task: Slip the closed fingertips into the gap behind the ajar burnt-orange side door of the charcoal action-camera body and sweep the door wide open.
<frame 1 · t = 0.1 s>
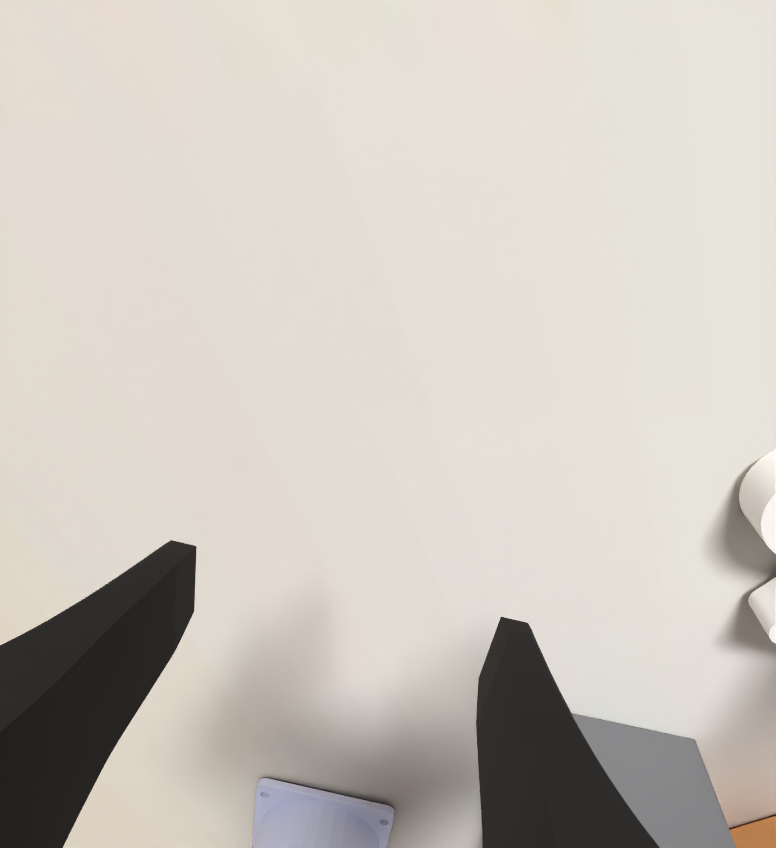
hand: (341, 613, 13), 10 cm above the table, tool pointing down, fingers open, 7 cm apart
camera body: (580, 784, 30), on the table
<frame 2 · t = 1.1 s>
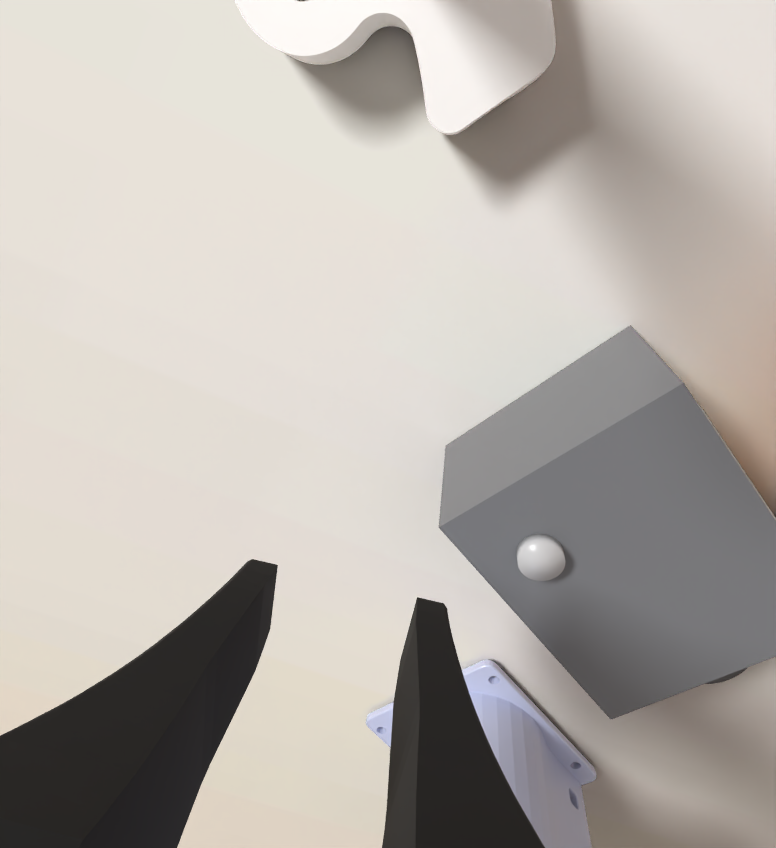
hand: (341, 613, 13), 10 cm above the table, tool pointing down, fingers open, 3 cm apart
camera body: (604, 484, 23), on the table
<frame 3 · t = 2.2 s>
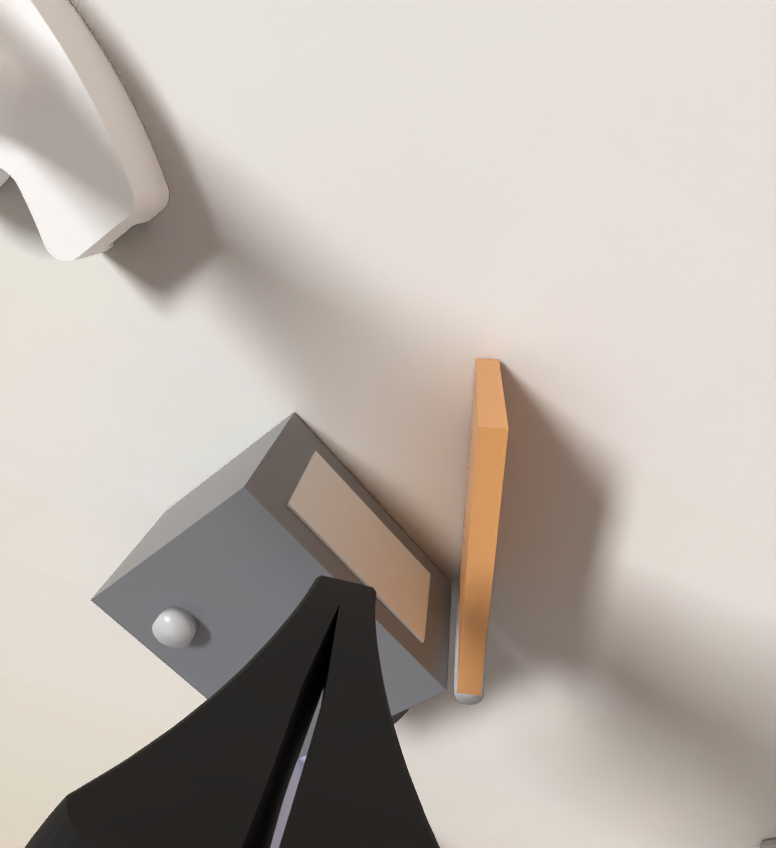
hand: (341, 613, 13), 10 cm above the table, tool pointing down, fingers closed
camera body: (307, 547, 25), on the table
side door: (477, 529, 20), point 3 cm above the table, hinge at 40.0°
joystick: (6, 94, 19), on the table
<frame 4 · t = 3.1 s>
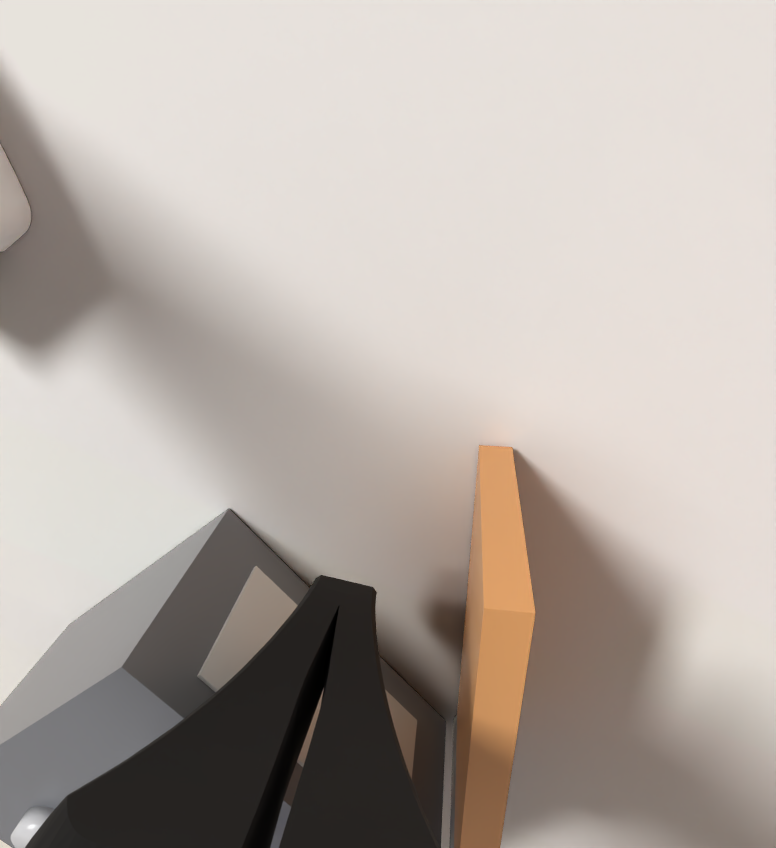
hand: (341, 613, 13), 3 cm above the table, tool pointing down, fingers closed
camera body: (255, 672, 19), on the table
side door: (481, 693, 14), point 3 cm above the table, hinge at 40.0°
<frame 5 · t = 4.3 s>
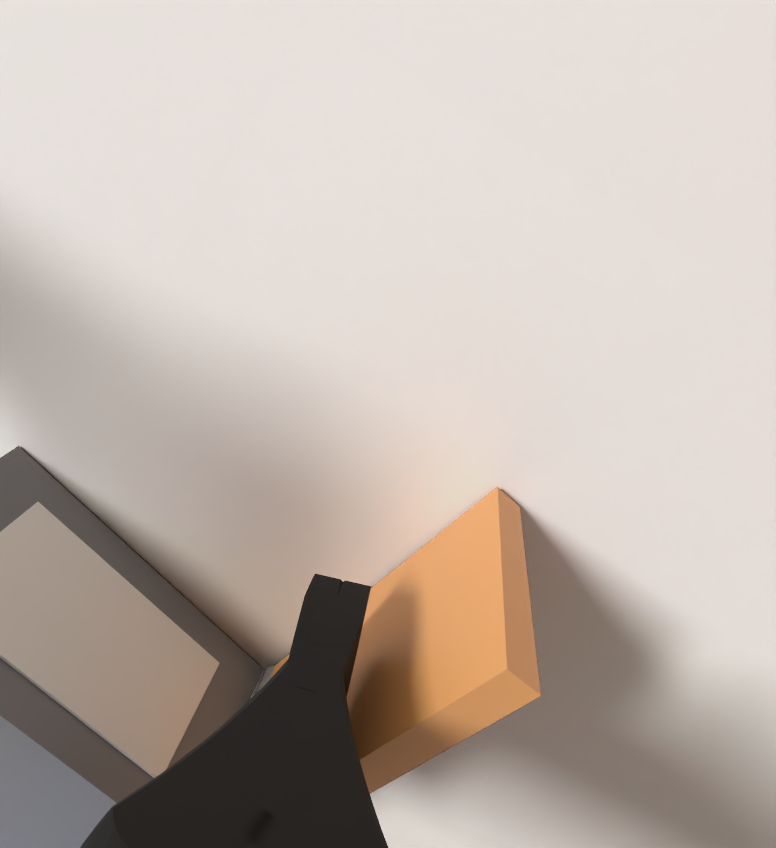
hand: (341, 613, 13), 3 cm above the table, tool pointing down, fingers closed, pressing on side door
camera body: (75, 617, 19), on the table
side door: (355, 682, 14), point 3 cm above the table, hinge at 81.0°, touching gripper
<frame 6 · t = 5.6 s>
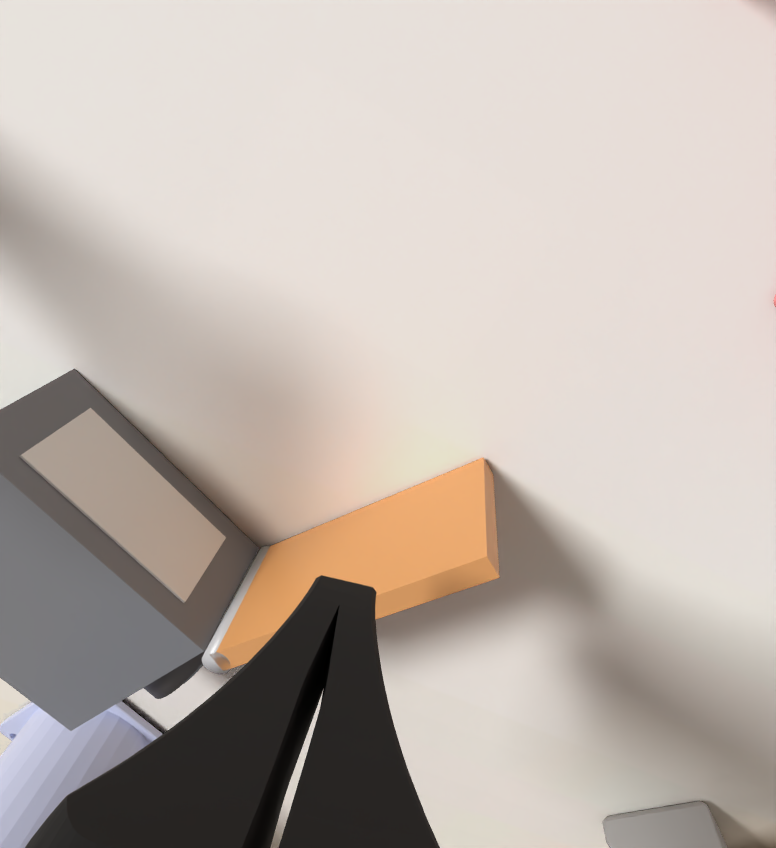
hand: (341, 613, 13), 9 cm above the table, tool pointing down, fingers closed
vintage mobile phone: (661, 824, 29), on the table
camera body: (113, 511, 24), on the table
side door: (352, 562, 20), point 3 cm above the table, hinge at 100.0°
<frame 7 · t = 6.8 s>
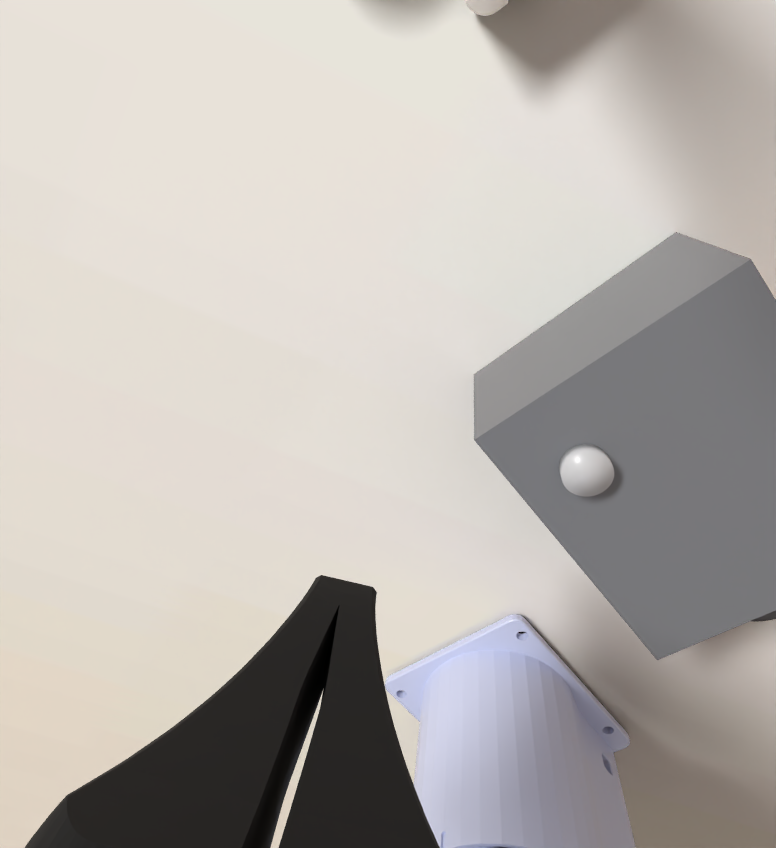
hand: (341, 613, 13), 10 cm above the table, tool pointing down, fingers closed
camera body: (643, 414, 21), on the table
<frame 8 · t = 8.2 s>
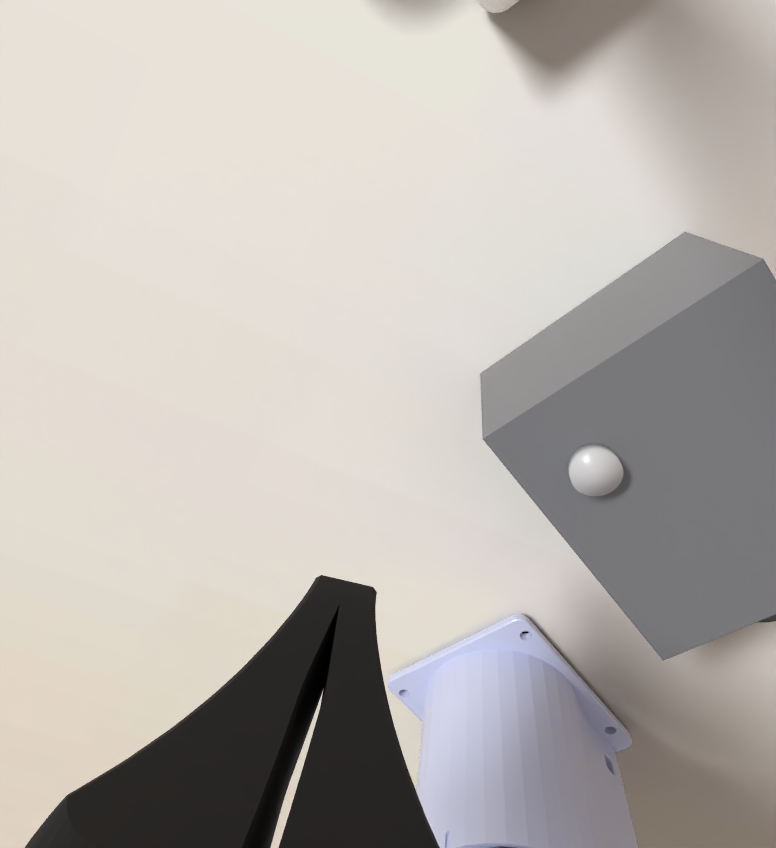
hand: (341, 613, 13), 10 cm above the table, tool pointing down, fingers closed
camera body: (650, 414, 21), on the table
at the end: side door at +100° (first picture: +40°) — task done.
